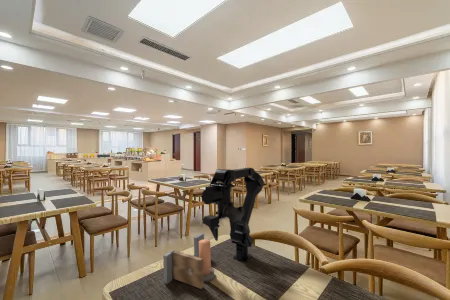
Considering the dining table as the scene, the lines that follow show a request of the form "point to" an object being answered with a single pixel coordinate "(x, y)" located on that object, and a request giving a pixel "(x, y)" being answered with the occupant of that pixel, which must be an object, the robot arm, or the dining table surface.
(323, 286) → the dining table surface
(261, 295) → the dining table surface
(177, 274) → the door
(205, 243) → the door stop
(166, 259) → the door frame
